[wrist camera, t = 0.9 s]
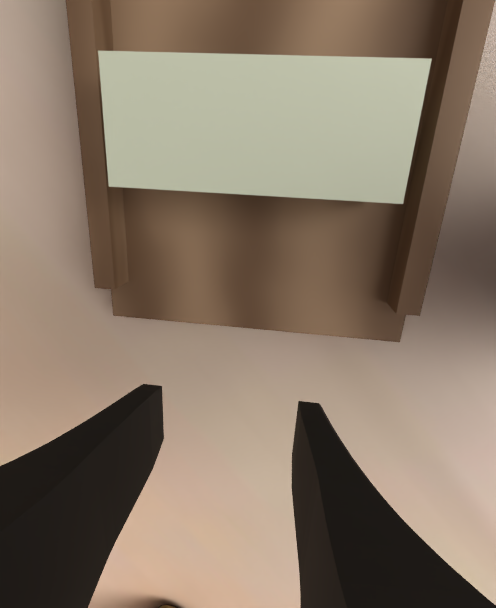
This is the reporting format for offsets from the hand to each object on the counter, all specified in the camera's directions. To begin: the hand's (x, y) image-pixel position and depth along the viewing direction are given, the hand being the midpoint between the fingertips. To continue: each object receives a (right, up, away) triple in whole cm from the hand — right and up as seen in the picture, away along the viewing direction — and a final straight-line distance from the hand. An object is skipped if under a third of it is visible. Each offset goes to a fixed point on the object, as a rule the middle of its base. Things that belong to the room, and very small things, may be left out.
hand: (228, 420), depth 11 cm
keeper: (+1, +10, +4) cm, 11 cm away
